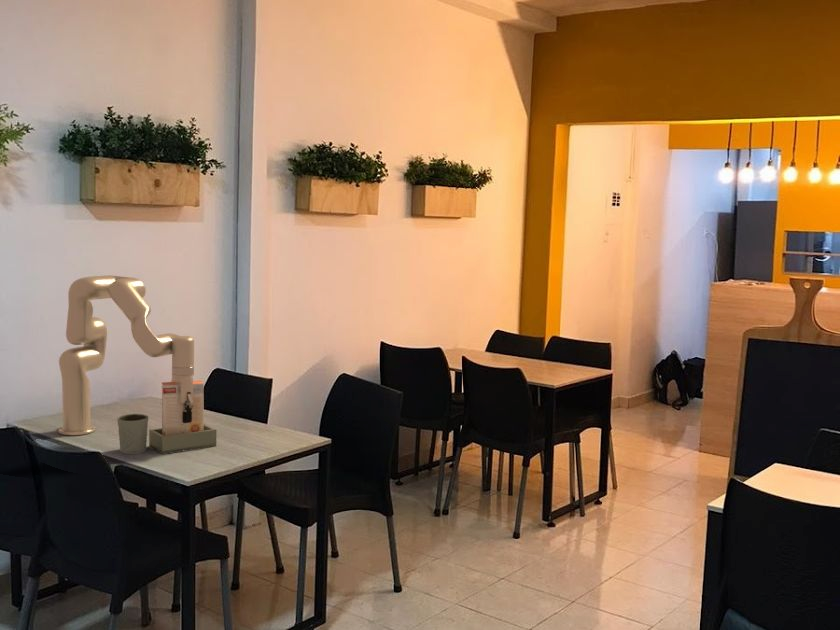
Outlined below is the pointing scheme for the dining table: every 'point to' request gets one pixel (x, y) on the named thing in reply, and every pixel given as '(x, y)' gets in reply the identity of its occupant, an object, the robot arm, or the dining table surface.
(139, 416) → the grey-green cup
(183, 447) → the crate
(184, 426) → the cracker box
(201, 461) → the dining table surface
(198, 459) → the dining table surface
